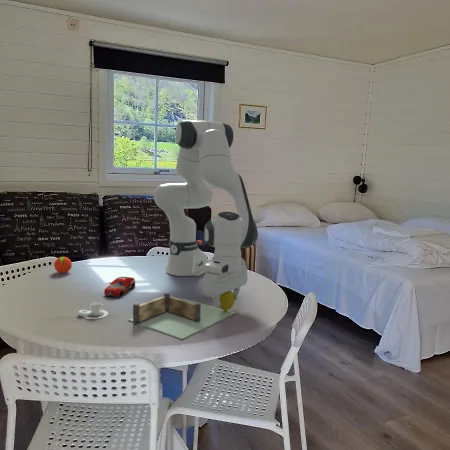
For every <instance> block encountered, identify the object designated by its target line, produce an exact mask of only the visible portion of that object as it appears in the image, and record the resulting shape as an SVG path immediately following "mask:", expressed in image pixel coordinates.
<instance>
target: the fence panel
mask: <svg viewBox="0 0 450 450" xmlns="http://www.w3.org/2000/svg"><path fill="white" fill-rule="evenodd" d="M181 299H182V298H177V297H174V296H171V295H170V297H169V311H170V312H172V313H175V314H178V315H181V316H184V317H187V318H190V319H193V320H195V321H200V309H201V304H199V303H200V302H198V303H197V304H194V303H191V302H187V301H184V300H181Z"/></svg>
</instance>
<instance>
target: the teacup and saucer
mask: <svg viewBox="0 0 450 450" xmlns="http://www.w3.org/2000/svg"><path fill="white" fill-rule="evenodd" d="M102 306H103V307H102ZM89 307H90V308H89V309H90V310H87V309H80V310H79V311H78V312H77V313H78V315H79V316H80V317H83V318H84V319H87V320H98V319H102V318H105V317H107V316H108V315H109V312H108V311H107V310H104V308H105V304H103V303H101V302H100V301H92V302H90V303H89ZM101 307H102V309H101ZM101 313H103V315H102V316H99V315H100V314H101ZM90 315H91V316H98V317H90Z"/></svg>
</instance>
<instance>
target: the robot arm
mask: <svg viewBox="0 0 450 450" xmlns="http://www.w3.org/2000/svg"><path fill="white" fill-rule="evenodd" d="M174 135H175V141H176V144H177V145H178V146H179V151H178V156H177V162H176V166H175V167H176V168H175V169H176V172H177V173H176V174H178V175H179V176H180V177H181V178H183V179H184V180H185V182H168V183H163V184H158V185H157V186H156V188H155V190H154V192H153V200H154V203H155V204H156V206H157V207H158V208H160V210H162V211H163V212H164V214H165V215H166V216H167V219H168V222H169V233H170V235H169V237H170V238H169V241H168V249H169V251H168V256H167V263H166V265H165V273H167V274H168V275H172V276H175V277H177V276H179V277H189V276H190V277H191V276H192V277H193V276H194V277H199V276H201V275H203V274H204V275H203V293H204V296H206V297H209V298H212V301H213V307H215V308H219V307H221V302H220V301H219V298H220V295H221V294H224V293H226V292H228V291H231V292H232V293H233V296H234V302H235V301H237V300H238V296H239V294H240V291H241V287H243V286H245V285H247V283H248V267H247V265H246V260H245V259H244V258H243V257H242V250H241V248H243V249H244V248H245V249H248V248H251V247H252V246H253V245H254V244H255V243H256V241H257V240H258V237H259V236H258V235H259V233H258V227H257V224H256V221H255V219H254V217H253V216H254V215H253V212H252V209H251V208H252V207H251V205H250V200H249V197H248V194H247V191H246V186H245V184H244V181H243V178H242V176H241V175H240V174H238V173H237V172H236V171H235V168H234V167H233V164H232V160H231V151H230V148H231V147H232V145H233V143H234V130H233V127H232V126H231V125H230V124H227V123H225V122H218V121H213V120H206V119H205V120H197V119H196V120H195V119H194V120H192V119H183V120H180V121H179V122H178V124H177V125H176V129H175V133H174ZM206 182H207V183H208V184H207V183H206ZM210 185H211V186H212V187H216V188H218V189H221V190H223V191H225V192H227V193H228V194H230V195H231V196H232V198H233V201H234V204H235V208H236V212H237V213H236V212H232V211H220V212H219V213H218V214H217V215H216V218H214V219H210V220H209V221H207V222H206V224H204V226H203V240H201V239H200V240H199V239H197V238H196V236H197V224H196V222H195V220H194V219H193V218H191V217H189V216H187V215H186V213H185V210H186V209H187V210H188V209H201V208H204V207H208V206H209V205H211V203H212V200H213V191H212V188H211V187H210ZM196 239H197V240H196ZM203 241H204V243H205V244H207V245H208V246H209V247H210V248H211V247H212V248H214V252H213V257H212V258H211V259H210V260H209V259H208V256H207V254H206V253H204V251H202V250H201V249H200V248H199V245H200V246H202V244H203ZM219 309H220V308H219Z"/></svg>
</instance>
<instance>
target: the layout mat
mask: <svg viewBox="0 0 450 450" xmlns="http://www.w3.org/2000/svg"><path fill="white" fill-rule="evenodd" d="M180 299H181V300H184V301H187V302H191V303H194V304H197V303H199V304H201V309H200V321H195V320H193V319H190V318H187V317H184V316H181V315H178V314H175V313H172V312H170V311H168V312H162V313H160V314H157V315H155V316H152V317H150V318H147V319H145V320H142V321H140V322H139V323H138V324H137V325H139V326H142V327H145V328H148V329H151V330H154V331H156V332H159V333H161V334H164V335H168V336H170V337H173V338H176V339H178V340H182V341H184V340H185V339H187V338H189V337H191V336H194V335H195V334H197V333H200V332H201V331H203V330H205V329H207V328H209V327H211V326H213V325H215V324H217V323H219V322H221V321H223V320H225V319H227V318H229V317H231V316H233V315H235V312H233V311H229V310H227V311H226V312H225V311H224V310H222V309H220V308H215V307H214V306H211V305H208V304H204V303H201V302H198V301H194V300H191V299H187V298H180ZM232 314H233V315H232ZM230 315H231V316H230ZM228 316H229V317H228ZM226 317H227V318H226ZM224 318H225V319H224ZM222 319H223V320H222ZM220 320H221V321H220ZM127 321H129V322H131V323H133V317H131V318H128V319H127ZM218 321H219V322H218ZM216 322H217V323H216ZM214 323H215V324H214Z"/></svg>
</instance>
